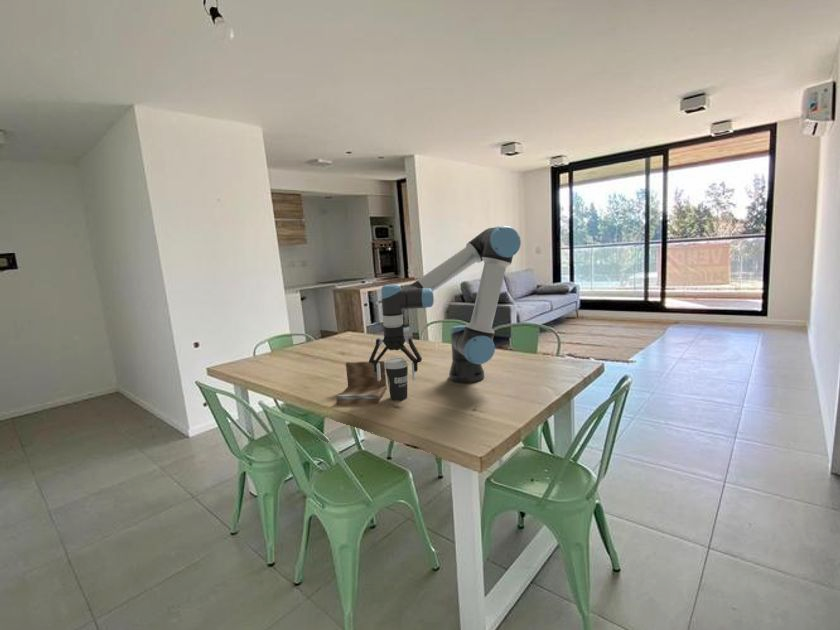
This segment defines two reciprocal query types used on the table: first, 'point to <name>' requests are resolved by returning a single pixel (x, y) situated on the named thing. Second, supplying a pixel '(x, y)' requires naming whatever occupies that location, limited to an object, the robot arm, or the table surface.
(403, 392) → the coffee cup
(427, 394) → the table surface
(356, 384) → the shelf
